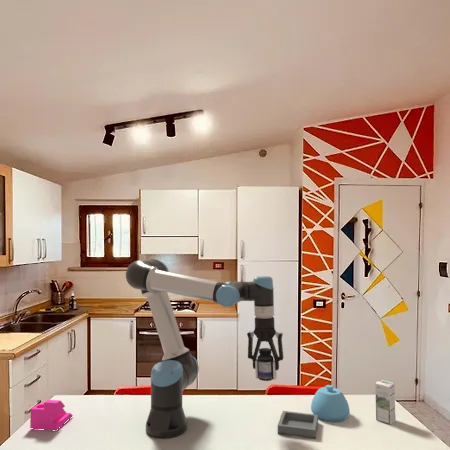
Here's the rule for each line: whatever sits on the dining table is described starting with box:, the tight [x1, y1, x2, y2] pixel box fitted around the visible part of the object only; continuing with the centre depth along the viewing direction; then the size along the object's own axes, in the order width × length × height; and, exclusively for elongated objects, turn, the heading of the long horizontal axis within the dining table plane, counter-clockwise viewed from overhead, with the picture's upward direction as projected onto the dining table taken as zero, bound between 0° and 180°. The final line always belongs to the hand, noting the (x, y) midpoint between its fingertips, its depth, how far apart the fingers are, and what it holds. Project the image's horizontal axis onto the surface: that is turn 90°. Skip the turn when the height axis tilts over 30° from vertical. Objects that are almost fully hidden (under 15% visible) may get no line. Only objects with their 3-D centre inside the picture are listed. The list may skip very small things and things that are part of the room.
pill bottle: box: [257, 347, 274, 382], centre depth 151 cm, size 6×6×11 cm
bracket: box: [29, 399, 74, 431], centre depth 152 cm, size 12×10×10 cm
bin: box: [277, 410, 319, 440], centre depth 148 cm, size 13×13×3 cm
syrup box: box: [374, 379, 396, 425], centre depth 155 cm, size 6×6×14 cm
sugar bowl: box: [310, 384, 351, 423], centre depth 160 cm, size 15×15×12 cm
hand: (266, 377), depth 151 cm, fingers closed on pill bottle, 6 cm apart
